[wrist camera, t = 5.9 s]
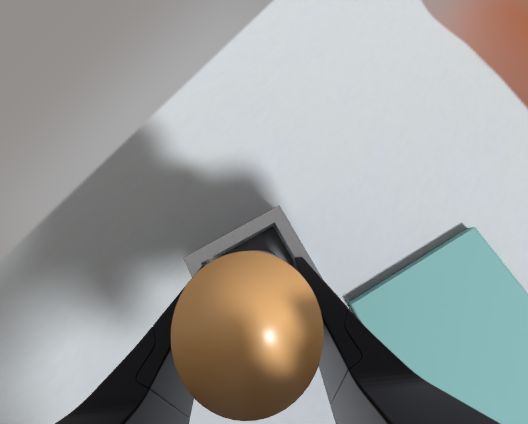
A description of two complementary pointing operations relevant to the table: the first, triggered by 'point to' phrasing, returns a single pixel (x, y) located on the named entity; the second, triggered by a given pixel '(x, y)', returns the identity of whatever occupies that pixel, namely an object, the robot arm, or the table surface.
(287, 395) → the grey orange domed cylinder
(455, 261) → the teal mat
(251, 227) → the collar
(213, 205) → the table surface
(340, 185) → the table surface
